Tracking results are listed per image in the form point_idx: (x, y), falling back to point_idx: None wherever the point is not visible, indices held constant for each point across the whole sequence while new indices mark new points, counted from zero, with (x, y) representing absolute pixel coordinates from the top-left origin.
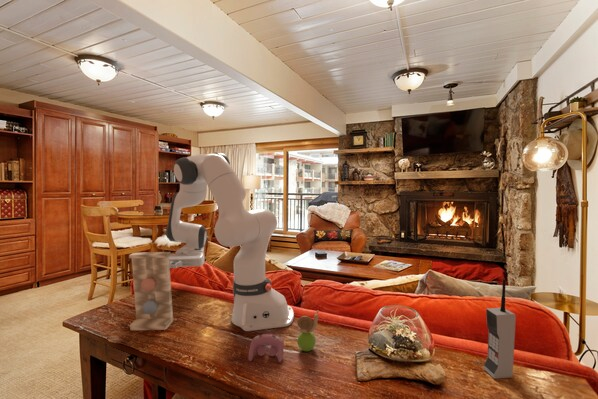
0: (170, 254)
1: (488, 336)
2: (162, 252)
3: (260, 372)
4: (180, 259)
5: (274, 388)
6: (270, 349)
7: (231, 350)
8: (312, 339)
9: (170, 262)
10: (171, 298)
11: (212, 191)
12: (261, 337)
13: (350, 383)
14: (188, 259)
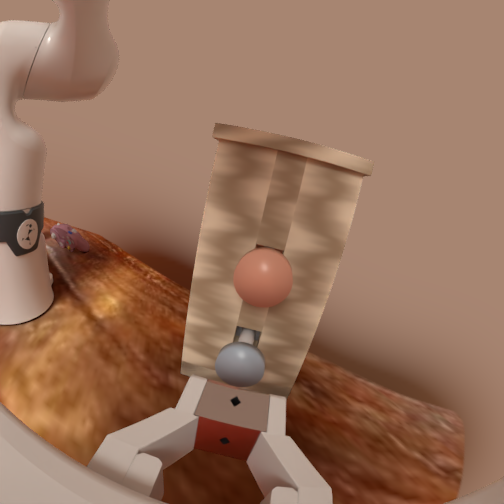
0: (213, 133)
1: None
2: (247, 129)
3: (88, 242)
4: (125, 486)
5: (90, 234)
6: (64, 239)
7: (95, 266)
8: None
9: (297, 453)
10: (188, 309)
11: None
12: (71, 227)
13: (45, 221)
14: (2, 405)
